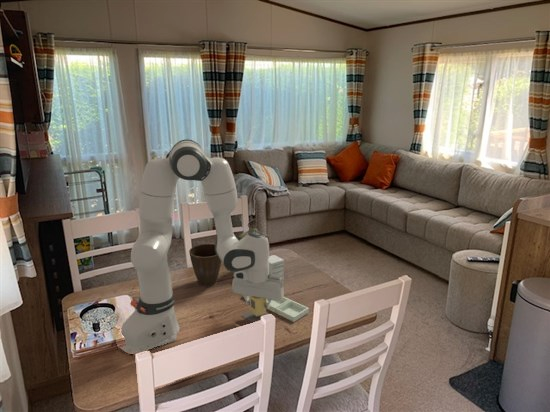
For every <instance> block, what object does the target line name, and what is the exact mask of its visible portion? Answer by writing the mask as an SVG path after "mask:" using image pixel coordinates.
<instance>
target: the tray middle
mask: <svg viewBox="0 0 550 412" xmlns="http://www.w3.org/2000/svg"><path fill="white" fill-rule="evenodd" d="M290 300H291V299H290V298H288V297H285V295H284V296H283V298H282V299H281V300H280V301H276V300H272V301H271V302H270V307H269V309H267V308H266V310H269V311H271V312H273V313H274V314H277V313H276V308H278V307H280V306H282V305H283V304H285V303H287V302H288V301H290ZM266 302H269V301H267V299H266Z"/></svg>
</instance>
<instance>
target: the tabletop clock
mask: <svg viewBox="0 0 550 412" xmlns="http://www.w3.org/2000/svg"><path fill="white" fill-rule="evenodd" d="M253 221H257V223H256V224H252V226H249V225H250V223H252V222H253ZM259 223H260V222H259V220H258V219H257V218H253V219H250V220H249V221H248V223H247V228H249V229H248V230H247V231H245V232H243V233H241V234H239V235H238V236H237V239H238V240H241V239H242V238H244V237H245V236H246V235H247V234H248V233H249V232H260V233H263V234H264V235H265V236H266V237H267V238H268V242H269V243H270V237H269V236H268V233H266V232H263V231H260V230H258V228H257V226H258V225H259Z"/></svg>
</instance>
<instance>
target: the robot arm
mask: <svg viewBox="0 0 550 412" xmlns="http://www.w3.org/2000/svg"><path fill="white" fill-rule="evenodd" d="M179 179H181V180H184V181H197V182H201V185H202V189H203V193H204V198H205V202H206V204H207V206H208V209H209V211H210V213H211V215H212V217H213V222H214V227H215V233H216V234H215V235H216V238H215V242H214V243H215V252H216V254H217V256H218V257H219V258H220V260H221V261H222V262H221V264H223V266H224V268H225V269H226V270H227V271H229V272H231V273H233V277H234V278H233V279H232V283H231V284H232V285H231V291H232V292H233V293H234V294H239V295H242V298H243V299H244V300H245V303H246V305H247V306H250V299H249V297H248V296H254V297H259V298H265V299H267V301H269V302H266V304H265V308H267V309H266V310H269V307H270V302H271V301H272V300H276V301H280V300H281V299H282V298H283V296H284V297H285V290H284V287H285V283H284V281H285V280H284V281H283V279H281V278H280V277H278V276H277V277H276V276H272V275H269V262H268V258H269V256H270V241H269V242H268V238H267V237H266V236H265V235H264V234H263V233H264V232H263V233H260V232H261V231H260V232H249V233H248V234H247V235H246V236H245V237H244V238H242V239H241V240H238V236H236V235H235V233H234V228H233V224H232V217H231V213H232V212H234V210H235V209H236V208H237V206H238V190H237V185H236V181H235V178H234V174H233V172H232V168H231V166H230V164H229V162H228V160H227V159H225V158H222V157H219V156H216V157H215V156H214V157H207V156H206V155H205V153H204V151H203V148H202V147H201V145H200V144H199V143H198V142H196V141H194V140H192V139H182V140H179V141H177V142H176V143H175V144H174V145H173V146H172V148H171V150H169V152H168V153H167V154H166V156H165V158H154V159H150V160H149V161H147V163H146V165H145V168H144V171H143V174H142V180H141V183H140V184H141V185H140V191H139V193H140V194H139V204H138V216H139V227H140V228H139V233H138V235H137V238H136V241H135V242H134V243H133V245H132V247H131V253H130V263H131V264H132V266H133V268H134V269H135V272H136V275H137V279H138V287H139V288H138V289H139V297H138V301H136V300H135V299H133V300H131V301H130V306H131V307H132V308H136V309H135V310H134V311H133V312H132V313H131V314H130V316H129V317H128V318H126V319H125V321H124V322H123V323H122V325H121V333H122V335H123V336H124V337H125V343H126V346H123V347H120V348H121V349H122V350H124V351H125V352H128V353H135V354H136V351H137V353H138V352H142V351H146V350H149V349H152V348H154V347H157V346H160V345H162V346H164V344H165V345H168V344H170V343H172V342H175V341H176V340H177V335H178V333H179V331H180V325H179V322H178V319H177V315H176V312H175V296H174V292H173V285H172V284H173V283H172V282H173V281H172V274H171V272H170V269H169V264H168V252H169V249H170V247H171V244H172V236H173V216H174V215H173V214H174V206H175V198H176V188H177V182H178V180H179ZM121 333H120V334H121ZM167 343H168V344H167ZM160 347H161V346H160ZM157 348H158V347H157ZM154 349H155V348H154ZM129 350H132V351H129ZM152 350H153V349H152ZM149 351H150V350H149Z"/></svg>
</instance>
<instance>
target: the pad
mask: <svg viewBox="0 0 550 412" xmlns="http://www.w3.org/2000/svg"><path fill="white" fill-rule="evenodd" d="M266 314H271V313H270V312H268V311H266V313H264V314H261V315H259V316H255V315H254V314H253V313H252V312H250V311H248V312H246V313H244V314H242V315H241V318H243V319H245V320H247V321H248V322H251V323H253V322H255V321H258V320H260V317H261V316H262V315H266Z"/></svg>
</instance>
